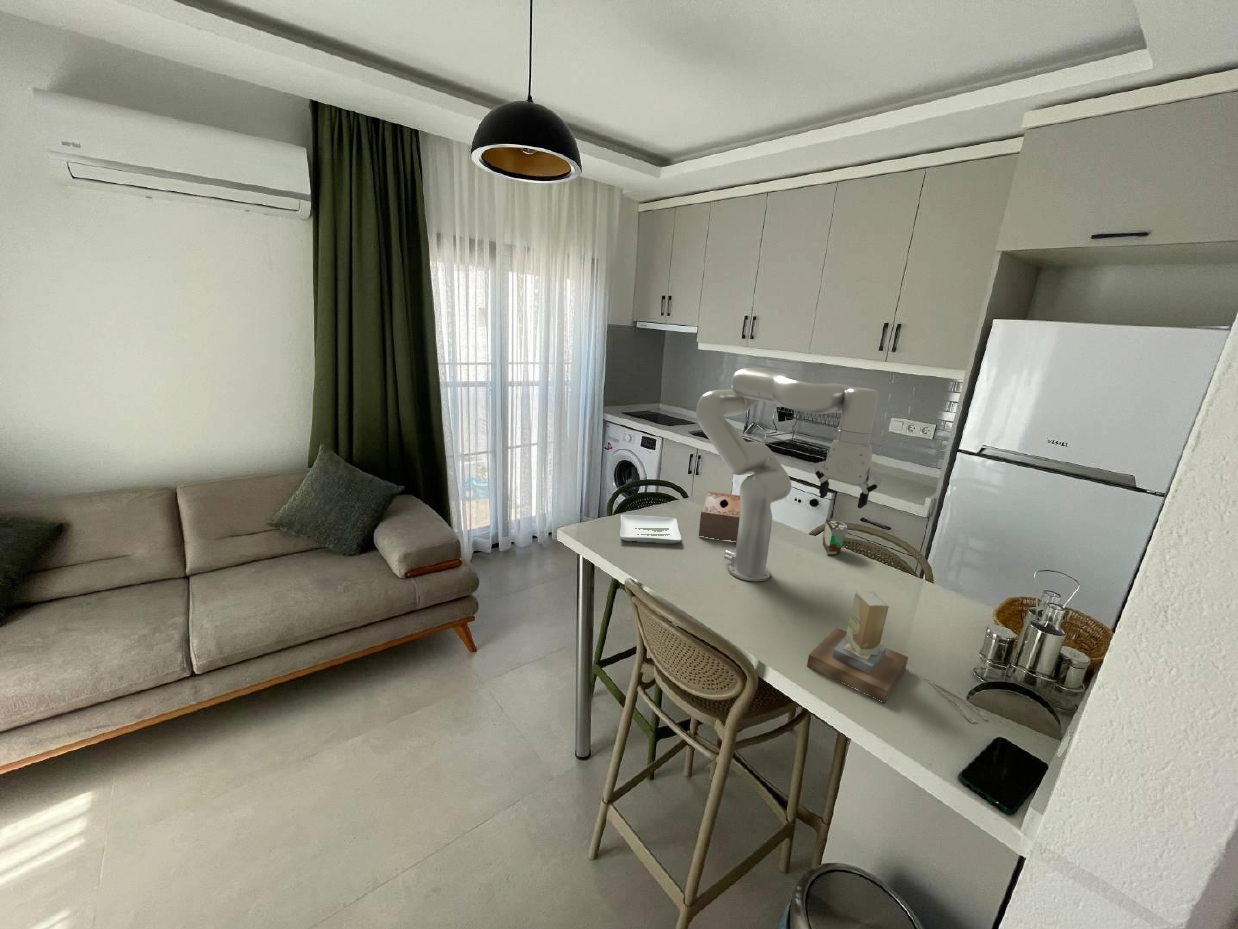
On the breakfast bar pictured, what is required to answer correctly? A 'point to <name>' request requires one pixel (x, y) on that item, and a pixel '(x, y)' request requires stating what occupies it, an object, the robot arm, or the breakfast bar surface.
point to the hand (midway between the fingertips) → (841, 502)
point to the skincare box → (866, 622)
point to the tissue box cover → (720, 516)
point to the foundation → (858, 665)
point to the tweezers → (959, 701)
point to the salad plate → (640, 521)
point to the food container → (834, 536)
